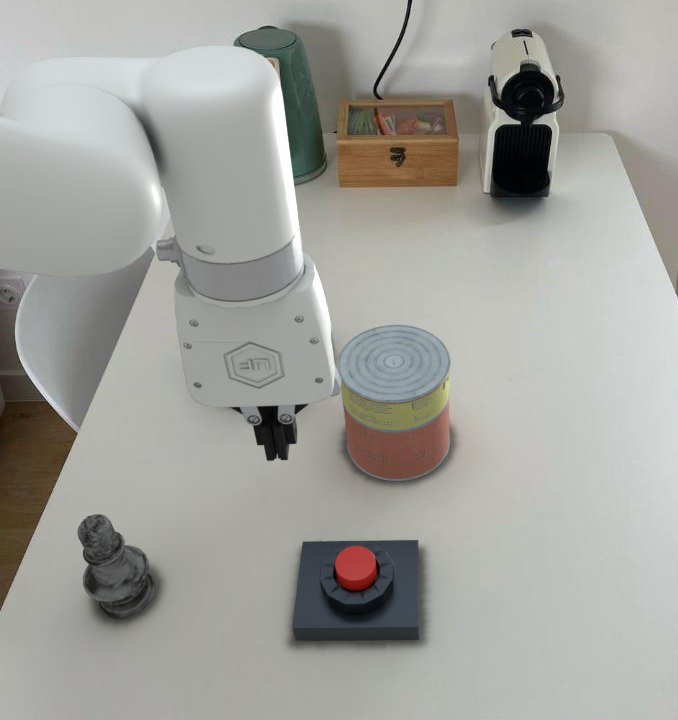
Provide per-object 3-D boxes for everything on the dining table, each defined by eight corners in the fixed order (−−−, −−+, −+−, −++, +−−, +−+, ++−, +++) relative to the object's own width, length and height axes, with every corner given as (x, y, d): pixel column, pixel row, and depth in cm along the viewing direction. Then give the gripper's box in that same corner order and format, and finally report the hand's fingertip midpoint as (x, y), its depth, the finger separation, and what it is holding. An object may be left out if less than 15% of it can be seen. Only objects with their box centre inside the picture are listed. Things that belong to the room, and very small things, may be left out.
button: (335, 591, 71) (333, 580, 70) (338, 556, 74) (336, 545, 73) (376, 591, 71) (374, 580, 70) (377, 556, 74) (376, 545, 73)
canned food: (471, 447, 88) (473, 367, 80) (386, 499, 83) (380, 419, 75) (409, 390, 95) (405, 310, 87) (327, 434, 90) (316, 355, 82)
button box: (295, 641, 72) (289, 617, 69) (305, 554, 79) (300, 530, 76) (419, 639, 72) (418, 616, 69) (418, 553, 78) (417, 528, 76)
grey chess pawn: (170, 575, 77) (137, 498, 69) (135, 629, 73) (96, 554, 65) (118, 559, 79) (80, 481, 71) (81, 611, 75) (36, 534, 67)
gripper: (110, 294, 48) (175, 488, 61) (360, 285, 49) (374, 480, 61) (137, 225, 54) (191, 416, 66) (361, 217, 54) (374, 409, 66)
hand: (279, 446), depth 64 cm, fingers closed
